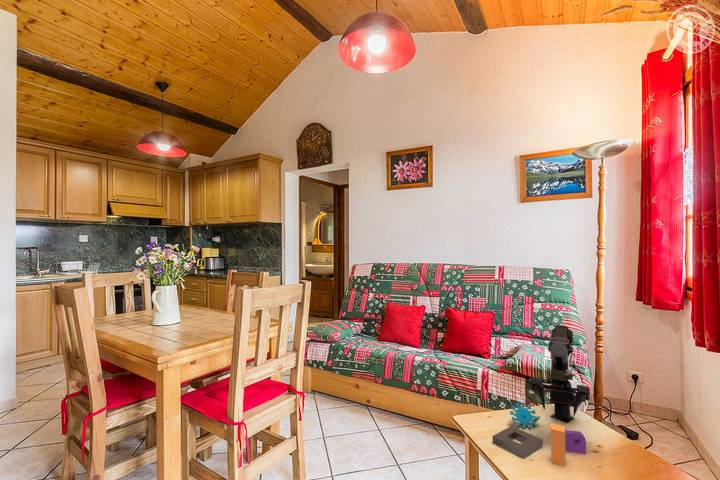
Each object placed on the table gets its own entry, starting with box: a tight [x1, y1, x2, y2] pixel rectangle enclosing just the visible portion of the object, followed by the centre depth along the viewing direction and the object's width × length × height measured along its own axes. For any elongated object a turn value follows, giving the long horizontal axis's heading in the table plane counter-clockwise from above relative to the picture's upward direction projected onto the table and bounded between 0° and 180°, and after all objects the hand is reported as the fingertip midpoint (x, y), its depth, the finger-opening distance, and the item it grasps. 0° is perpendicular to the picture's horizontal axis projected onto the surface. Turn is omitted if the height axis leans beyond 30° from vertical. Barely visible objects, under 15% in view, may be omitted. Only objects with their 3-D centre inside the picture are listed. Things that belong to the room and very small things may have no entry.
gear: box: [509, 402, 541, 430], centre depth 146 cm, size 11×6×10 cm
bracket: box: [565, 429, 587, 455], centre depth 131 cm, size 12×7×7 cm, turn 165°
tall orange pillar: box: [550, 423, 567, 467], centre depth 121 cm, size 4×4×11 cm
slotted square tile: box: [491, 425, 544, 459], centre depth 131 cm, size 12×12×2 cm
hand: (558, 412), depth 127 cm, fingers open, 9 cm apart
